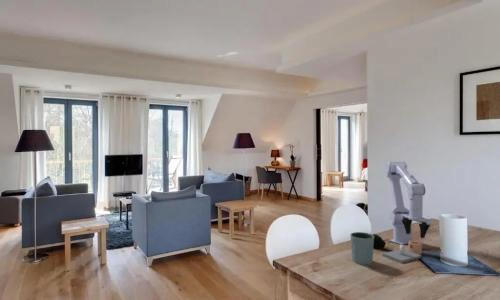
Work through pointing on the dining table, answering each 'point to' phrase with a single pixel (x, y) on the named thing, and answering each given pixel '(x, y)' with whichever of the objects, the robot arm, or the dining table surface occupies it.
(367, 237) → the green cup
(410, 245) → the collar
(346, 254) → the dining table surface
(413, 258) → the duct plate
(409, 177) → the robot arm
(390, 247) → the light bulb
